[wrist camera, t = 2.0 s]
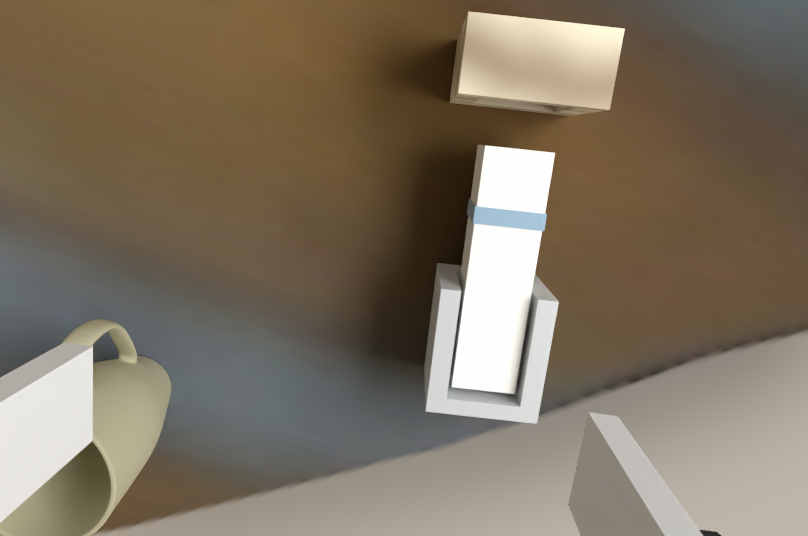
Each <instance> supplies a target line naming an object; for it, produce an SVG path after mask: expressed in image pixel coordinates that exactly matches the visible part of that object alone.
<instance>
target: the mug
mask: <svg viewBox="0 0 808 536" xmlns="http://www.w3.org/2000/svg"><path fill="white" fill-rule="evenodd" d="M106 332H108V333H109V335H110V336H111V338H112V340H113V341H114V343H115V345H116V346H117V349H118V351H119V358H117V359H112V360H106V361H101V362H95V363H93V441H92V442H91V443H89V444H88V445H87V446H86V447H85V448H84V449H83V450H82V451H80V452H79V453H78V454H77V455H76V456H75V457H74V458H73V459H71V460H70V461H69V462H68V463H67V464H66V465H65V466H64V467H62V468H61V469H60V470H59V471H58V472H57V473H56V474H55V475H53V476H52V477H51V478H50V479H49V480H48V481H47V482H46V483H44V484H43V485H42V486H41V487H40V488H39V489H38V490H37V491H35V492H34V493H33V494H32V495H31V496H30V497H29V498H28V499H26V500H25V501H24V502H23V503H22V504H21V505H20V506H19V507H17V508H16V509H15V510H14V511H13V512H12V513H11V514H10V515H8V516H7V517H6V518H5V519H4V520H3V521H2V522H1V523H0V535H2V536H91V535H92V534H94V533H95V532H96V531H97V530H98V529H99V528H100V527H101V526H102V525H103V524H104V523H105V522H106V520H107V519H108V517H109V516H110V514H111V513H112V512H113V510H114V509H115V507H116V506H117V504H118V503H119V501H120V500H121V499H122V497H123V496H124V494H125V493H126V491H127V490H128V488H129V487H130V486H131V484H132V483H133V481H134V480H135V478H136V477H137V475H138V474H139V473H140V471H141V470H142V468H143V467H144V465H145V463H146V462H147V460H148V459H149V457H150V455H151V453H152V451H153V450H154V448H155V445H156V443H157V441H158V438H159V435H160V433H161V430H162V426H163V422H164V419H165V415H166V411H167V407H168V403H169V399H170V396H171V382H170V378H169V376H168V374H167V372H166V371H165V370H164V368H163V367H162V366H161V365H160V364H158V363H157V362H155V361H154V360H152V359H150V358H147V357H143V356H137V353H136V349H135V347H134V344H133V342H132V340H131V338H130V336H129V335H128V333H127V331H126V330H125V329H124V328H123V327H122V326H121V325H119V324H117V323H115V322H112V321H109V320H104V319H96V320H91V321H88V322H86V323H84V324H82V325H80V326H79V327H77V328H76V329H75V330H73V331H72V332H71V333H70V334H69V335H68V336H67V337H66V339H65V340H64V341H63V342H62V344H63V343H71V344H79V345H86V346H92V345H93V344H94V343H95V342H96V340H97V339H99V338H100V337H101V336H102V335H103V334H104V333H106Z"/></svg>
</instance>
